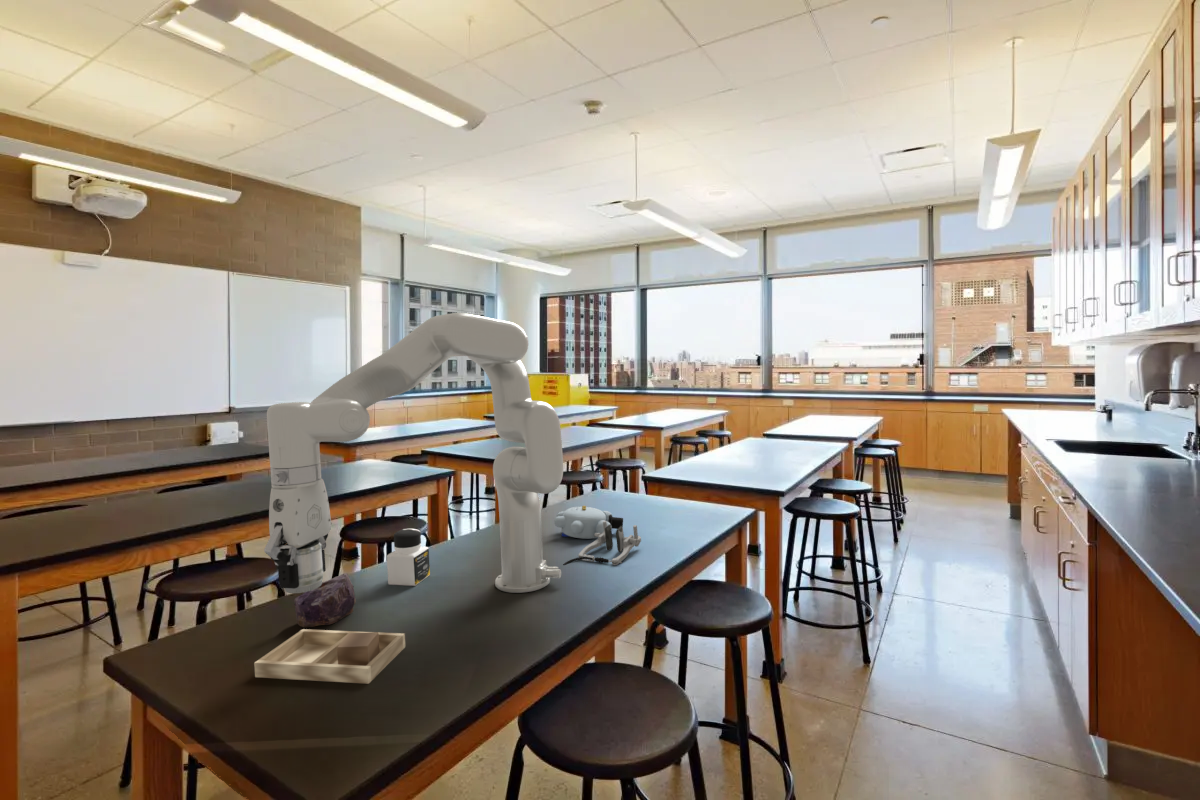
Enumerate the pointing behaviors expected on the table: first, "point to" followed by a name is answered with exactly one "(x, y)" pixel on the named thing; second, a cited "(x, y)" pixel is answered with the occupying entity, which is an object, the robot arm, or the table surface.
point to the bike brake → (610, 545)
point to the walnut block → (358, 649)
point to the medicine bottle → (408, 559)
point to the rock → (326, 602)
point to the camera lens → (308, 567)
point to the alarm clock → (585, 522)
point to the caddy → (325, 658)
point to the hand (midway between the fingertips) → (303, 578)
